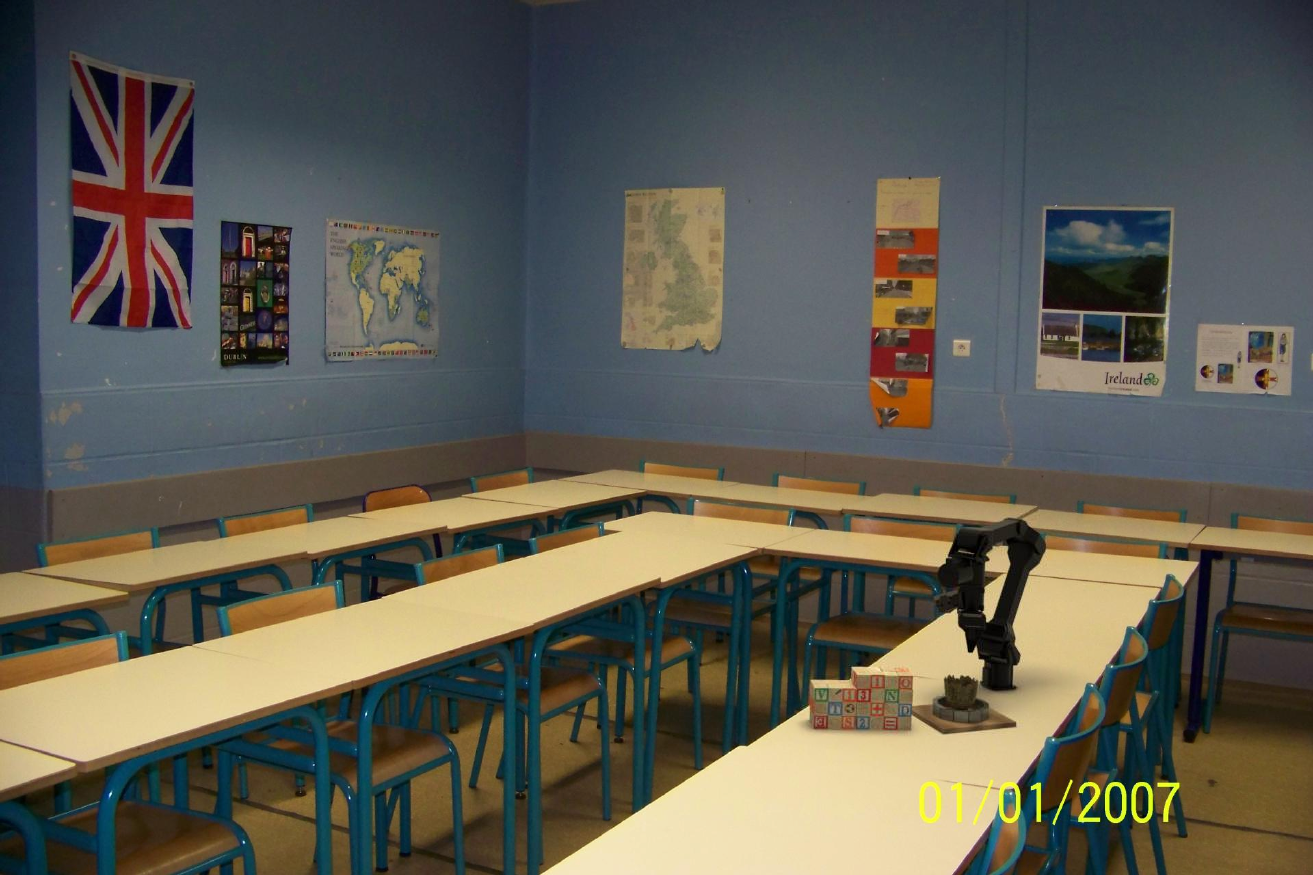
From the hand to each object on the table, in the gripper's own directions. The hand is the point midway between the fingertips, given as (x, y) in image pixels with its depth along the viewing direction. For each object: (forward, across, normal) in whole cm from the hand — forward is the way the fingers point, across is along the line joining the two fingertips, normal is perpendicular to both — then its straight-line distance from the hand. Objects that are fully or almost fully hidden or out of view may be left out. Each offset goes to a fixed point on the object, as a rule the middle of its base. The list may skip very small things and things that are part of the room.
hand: (969, 647), depth 277 cm
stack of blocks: (+12, +26, -24) cm, 37 cm away
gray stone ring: (+12, +16, -2) cm, 20 cm away
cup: (+11, +16, -2) cm, 20 cm away
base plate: (+12, +16, -2) cm, 20 cm away
